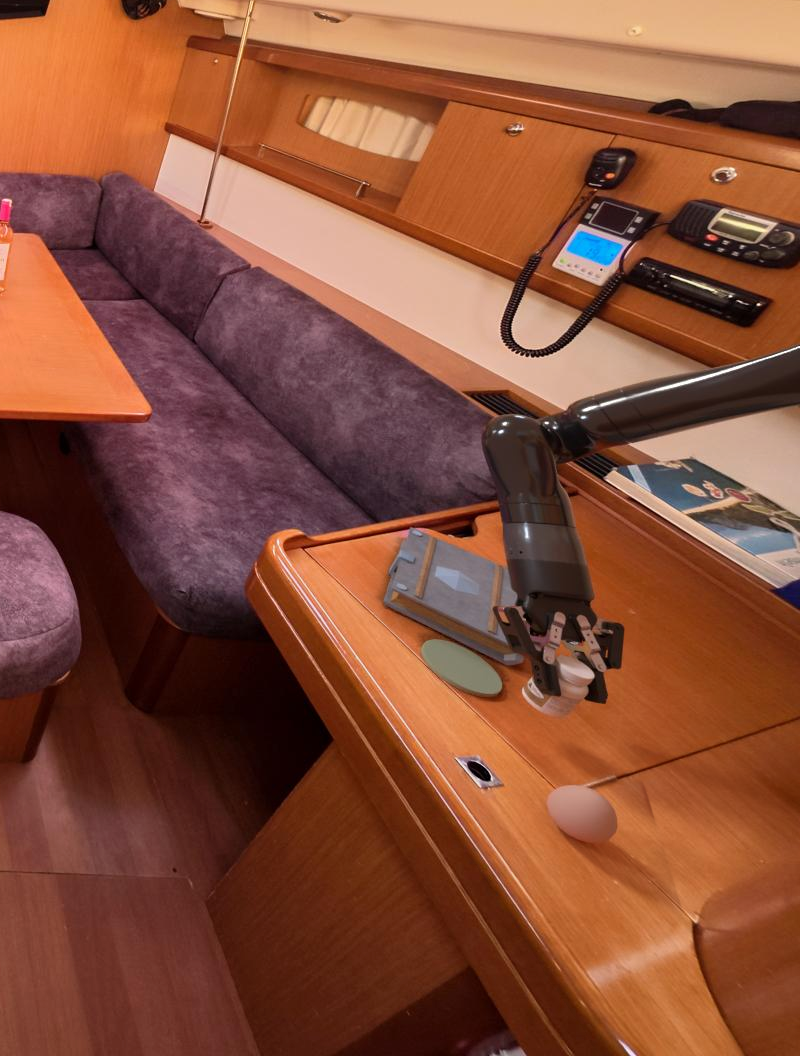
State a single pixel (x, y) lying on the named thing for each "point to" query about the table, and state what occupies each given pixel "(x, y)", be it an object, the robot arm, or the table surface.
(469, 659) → the coaster
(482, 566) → the book
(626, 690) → the table surface
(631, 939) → the table surface
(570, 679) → the pill bottle
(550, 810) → the egg
